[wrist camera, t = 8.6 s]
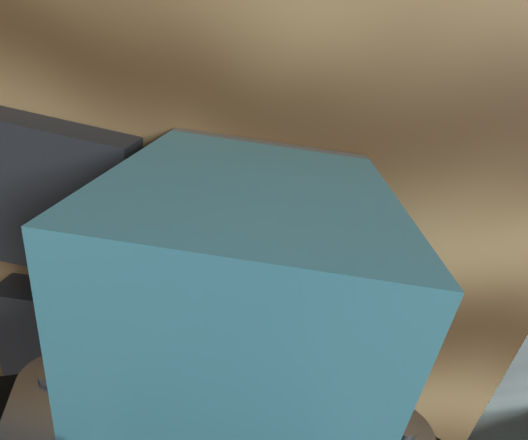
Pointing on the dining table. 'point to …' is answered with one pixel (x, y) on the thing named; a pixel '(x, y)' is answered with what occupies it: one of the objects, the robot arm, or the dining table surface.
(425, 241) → the block
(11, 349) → the graphite chip
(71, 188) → the graphite chip
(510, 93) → the oak board
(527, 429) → the dining table surface
